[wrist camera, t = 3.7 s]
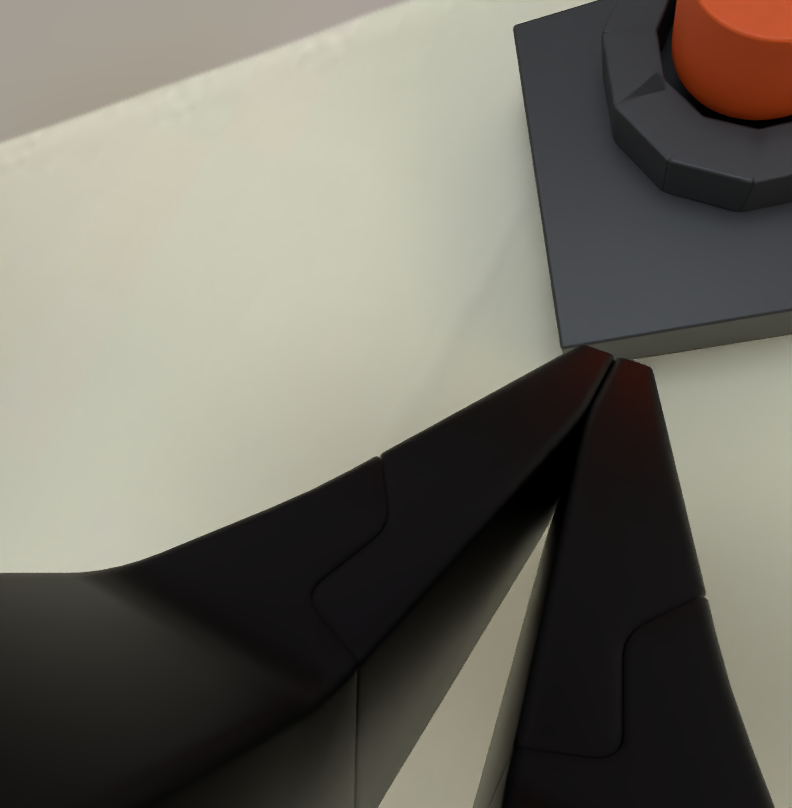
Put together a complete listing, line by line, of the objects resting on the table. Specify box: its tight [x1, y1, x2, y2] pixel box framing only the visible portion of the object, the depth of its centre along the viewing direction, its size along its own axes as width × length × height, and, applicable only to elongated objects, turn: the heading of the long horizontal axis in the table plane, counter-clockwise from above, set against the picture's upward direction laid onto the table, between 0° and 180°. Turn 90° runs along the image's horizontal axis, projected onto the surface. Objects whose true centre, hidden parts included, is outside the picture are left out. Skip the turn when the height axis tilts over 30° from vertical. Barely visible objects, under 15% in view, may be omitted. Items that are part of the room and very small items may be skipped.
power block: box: [513, 0, 792, 361], centre depth 18 cm, size 9×11×6 cm
